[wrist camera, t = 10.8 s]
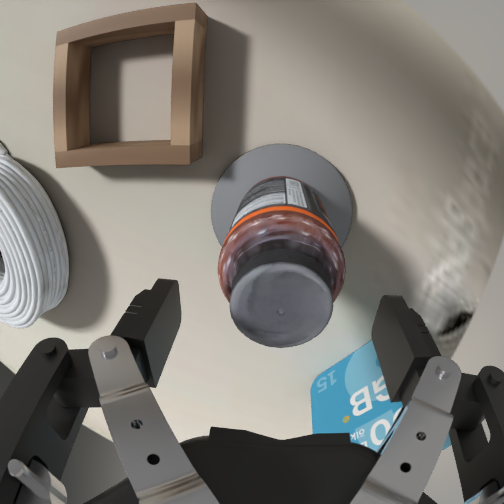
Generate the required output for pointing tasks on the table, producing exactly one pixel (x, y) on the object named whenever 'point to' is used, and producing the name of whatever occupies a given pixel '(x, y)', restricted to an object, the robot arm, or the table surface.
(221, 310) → the table surface
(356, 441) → the data package
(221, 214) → the felt coaster
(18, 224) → the cable
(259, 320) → the supplement bottle
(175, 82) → the walnut holder
